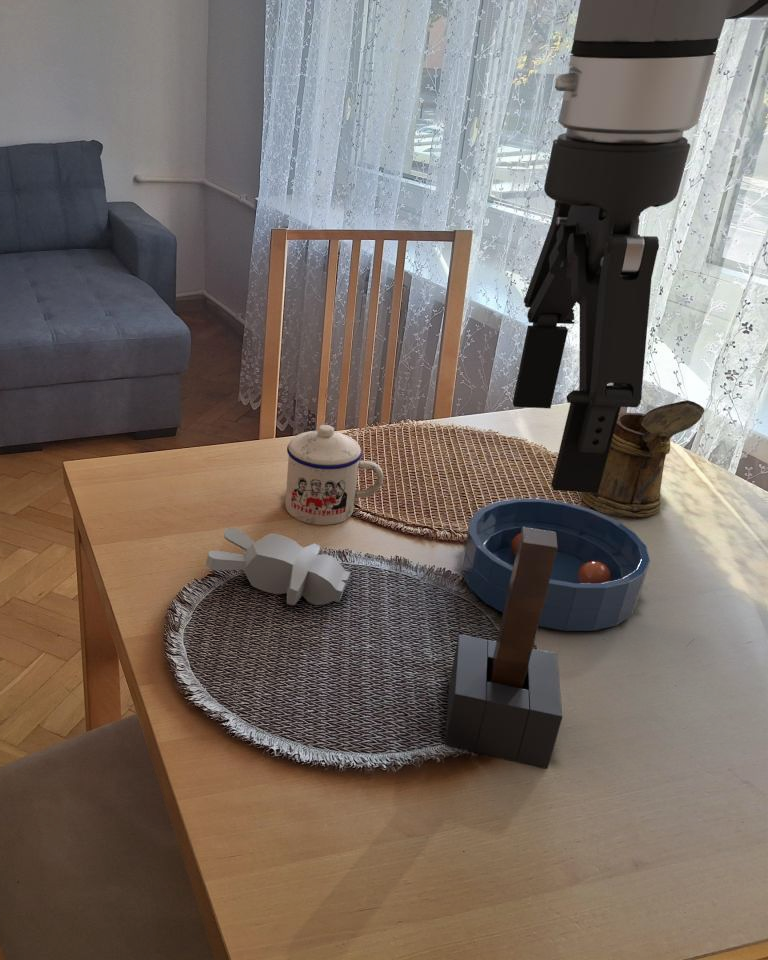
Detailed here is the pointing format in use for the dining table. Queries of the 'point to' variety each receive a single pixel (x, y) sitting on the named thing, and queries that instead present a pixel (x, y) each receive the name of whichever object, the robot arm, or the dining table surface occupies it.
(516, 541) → the bead
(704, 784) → the dining table surface
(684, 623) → the dining table surface
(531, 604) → the stick
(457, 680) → the holder
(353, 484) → the teacup with lid
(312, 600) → the bunny figurine
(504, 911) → the dining table surface
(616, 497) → the wooden mug
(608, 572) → the bead
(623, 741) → the dining table surface
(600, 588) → the bowl
